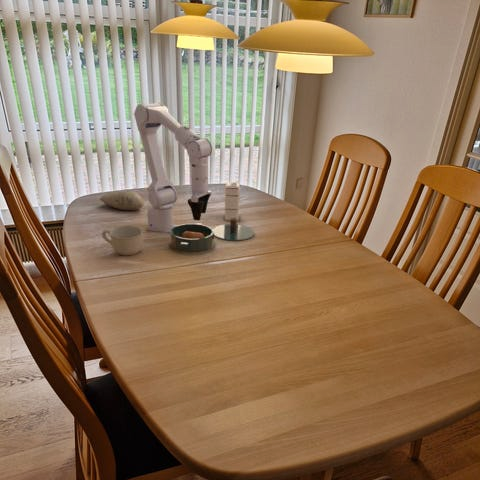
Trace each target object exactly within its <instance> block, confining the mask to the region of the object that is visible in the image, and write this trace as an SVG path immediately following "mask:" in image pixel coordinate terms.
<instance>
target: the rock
mask: <svg viewBox="0 0 480 480" xmlns="http://www.w3.org/2000/svg"><path fill="white" fill-rule="evenodd" d="M99 200H100V201H101V202H102V203H103V204H105V205H107V206H110V207H112V208H114V209H117V210H120V211H121V210H123V211H136V210H140V209H142V208H143V207H144V204H145V203H144V199H143V198H142V197H141V195H140V194H138V193H137V192H136V191H133V190H124V191H123V190H122V191H117V192H116V191H115V192H114V191H113V192H109V193H106V194H103V195H102V196H100V198H99Z"/></svg>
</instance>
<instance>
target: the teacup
mask: <svg viewBox="0 0 480 480" xmlns="http://www.w3.org/2000/svg"><path fill="white" fill-rule="evenodd" d="M143 233H144V230H143V228H141V227H140V226H138V225H133V224H122V225H117V226H114V227H112V228H111V229H108V228H105V229H104V230H103V231H102V232H101V237H102V239H103V240H104V241H105V242H107V243H108V244H110V245H111V247H112V249H113V251H114V252H116V253H117V254H118V255H121V256H133V255H136V254H138V253H139V252H141V250H143V247H144V237H143V236H144V234H143ZM106 234H108V235H109V237H110V238H108V236H107V235H106Z"/></svg>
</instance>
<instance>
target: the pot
mask: <svg viewBox="0 0 480 480" xmlns="http://www.w3.org/2000/svg"><path fill="white" fill-rule="evenodd" d="M213 229H214V228H213V227H210V225H209V226H208V225H205V224H203V223H200V222H196V223H182V224H177V226H175V227H173V228H172V229H171V231H170V232H169V233H170V246H171V248H173V249H174V250H175V251H178V252H181V253H188V254H199V253H204V252H208V251H210V250H211V249H213V247H214V246H215V236H214V231H213ZM186 231H189V232H198V233H202V234H203V235H204V238H199V239H187V238H182V234H183V233H184V232H186Z"/></svg>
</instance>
